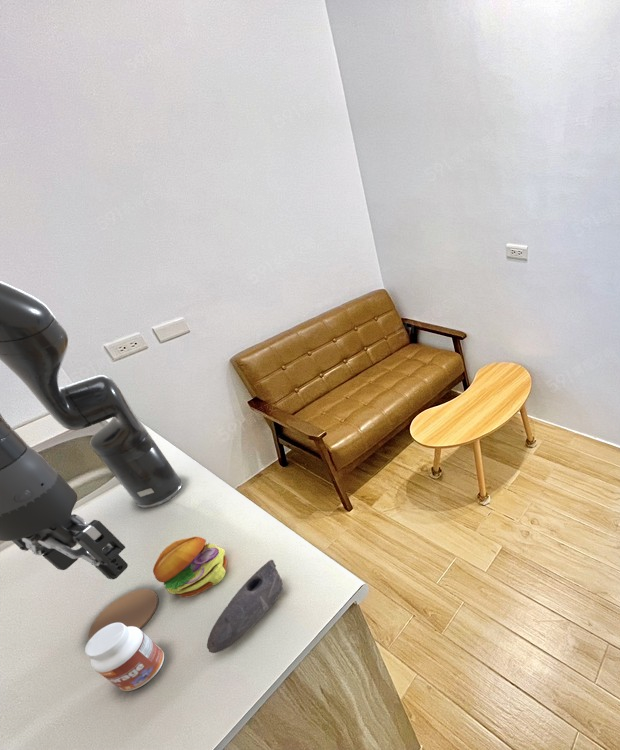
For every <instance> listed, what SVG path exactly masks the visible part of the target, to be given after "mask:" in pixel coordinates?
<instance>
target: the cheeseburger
mask: <svg viewBox="0 0 620 750" xmlns="http://www.w3.org/2000/svg"><path fill="white" fill-rule="evenodd" d="M227 563H228V560H227V558H226V550H225V549H224V548H222V547H219V546H218V545H216V544H214V543H210V542H208V543H207V539H205V538H203V537H200V536H191V537H186V538H181V539H177V540H175V541H173V542H172V543H170V544H169V545H167V546H166V547H165V548H164V549H163V550H162V551H161V552H160V554H159V555H158V558H157V559H156V561H155V563H154V565H153V569H152V574H153V576H154V578H155V579H156V581H157V582H159V583H163V585H164V586H165V587H164V588H165V589H166V590H167V592H168V593H169V594H172V595H176V596H178V597H182V598H187V597H188V598H189V597H193V596H195V595H198V594H200V593H203V592H204V591H206V590H208V589H209V588H211V587H213V586H216V585H217V584H219V583H220V582H221V581H222V580H223V579H224V577H225V576H226V570H227Z"/></svg>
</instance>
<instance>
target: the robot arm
mask: <svg viewBox="0 0 620 750" xmlns="http://www.w3.org/2000/svg"><path fill="white" fill-rule="evenodd" d="M68 347H69V337H68V334H67V331H66V330H65V328H64V327H63V325H62V324H61V322H60V321H59V320H58V319H57V317H56V316H55V315H54V314H53V312H52V311H51V309H50V308H49V307H48V306H47V305H46V304H45V303H44V302H42V301H41V300H40V299H38V298H36V297H35V296H33V295H31V294H29V293H27V292H25V291H24V290H22V289H19V288H16V287H14V286H12V285H10V284H8V283H6V282H3V281H1V280H0V361H1V362H2V363H3V364H4V365H5V366H7V368H8V369H9V370H10V371H12V372H13V373H14V374H15V375H16V376H17V377H18V378H19V379H20V381H22V382H23V384H24V385H26V388H28V389H29V391H30V392H31V393H32V394H33V395H34V396H35V398H36V399H37V400H38V402H40V404H41V405H42V406H43V407H44V409H45V410H46V411H47V412H48V413H49V415H50V416H51V417H52V418H53V419H54V421H56V423H58V424H59V426H62V427H63V428H65V429H66V430H69V431H79V430H83V429H87V428H89V427H92V426H95V425H97V424H100V423H102V422H104V421H105V422H106V421H108V420H109V419H110V421H108V422H107V424H106V425H104V426H103V427H102V428H100V429H99V430H98V431H97V432H95V433H94V434H93V435H92V437H91V438H90V440H89V447H90V448H91V450H92V451H93V452H94V453H95V455H97V457H98V458H99V459H100V460H101V462H102V463H103V464H104V465H105V466H106V468H107V469H108V470H109V471H110V472H111V474H112V475H113V476H114V477H115V479H116V480H117V481H118V483H120V485H121V486H122V487H123V489H125V491H126V492H127V493H128V494H129V496H130V497H131V498H132V500H134V502H135V504H136V505H137V506H138V507H139V508H143V509H148V508H153V507H158V506H160V505H162V504H165V503H166V502H168V501H169V500H171V499H173V498H174V497H175V496H176V495H178V493H179V492H180V491H181V490H182V488H183V485H184V481H183V480H182V478H181V477H179V475H178V473H177V472H176V471H175V469H174V468H173V466H172V465H171V463H170V462H169V460H168V459H167V458H166V456H165V454H163V453H164V452H162V451H161V449H160V448H159V446H158V444H157V443H156V442H155V440H154V438H152V436H151V434H150V433H149V432H148V430H147V429H146V428H145V426H144V425H143V423H142V422H141V421H140V419H139V418H138V417H137V415H136V413H135V412H134V410H133V408H132V407H131V405H130V404H129V402H128V400H127V398H126V397H125V395H124V393H123V392H122V390H121V388H120V387H119V386H118V385H117V383H116V382H115V381H114V379H112V378H111V377H109V376H108V375H106V374H98V375H94V376H91V377H89V378H85V379H82V380H79V381H76V382H73V383H69V384H67V385H64V386H60V387H59V374H60V372H61V368H62V365H63V362H64V360H65V357H66V354H67V350H68ZM77 501H78V494H77V492H76V490H74V489H73V487H72V486H71V485H70V484H69V483H68V482H67V481H66V480H65V479H64V478H63V477H62V476H61V474H59V472H57V470H56V469H55V468H54V467H53V466H52V465H51V464H50V462H49V461H48V460H46V459H45V457H43V456H42V455H41V454H40V453H39V452H38V451H37V450H35V449H33V448H32V447H31V446H30V445H29V444H28V443H27V442H26V441H25V440H24V439H23V438H22V437H21V436H20V435H19V433H17V432H16V430H14V429H13V427H12V426H11V425H10V424H9V423H8V422H7V421H6V420H5V418H4V417H3V415H2V414H1V413H0V542H13V544H15V545H16V546H17V547H18V548H19V549H20V550H21V551H25V552H28V551H29V550H30V551H32V553H33V555H36V556H42V557H43V558H44V559H45V560H47V561H48V562H49V563H50V564H51V565H52V566H53V567H54V568H56V569H57V570H59V571H66V570H68V569H69V568H70V567H72V565H73V564H74V563H75V562H76V561H78V560H79V559H82V560H84V561H86V562H88V563H90V564H91V565H92V566H94V567H95V568H96V569H97V570H98V571H99V572H101V574H102V575H103V576H104V577H105V578H107V579H108V580H116V579H118V578H119V577H120V576H121V575H122V574H123V573H124V572H125V571H126V570H127V569H128V567H129V564H128V563H127V561H125V560H124V559H123V558H122V556H121V555H120V554H121V553H122V552H123V551H124V550H125V549H126V546H125V544H124V543H122V542H121V541H120V539H119V538H117V537H116V536H115V534H114V533H112V531H110V530H109V529H108V528H107V527H106V526H105V524H103V523H102V522H101V521H100V520H97V519H93V520H92V521H90V522H89V523H86V519H84V518H83V517H81V516H80V515H78V514H75V513H72V512H73V509H74V508H75V505H76V504H77ZM77 545H78V546H80V547H79V548H77V549H73V548H75V546H77Z"/></svg>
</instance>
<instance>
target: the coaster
mask: <svg viewBox="0 0 620 750" xmlns="http://www.w3.org/2000/svg"><path fill="white" fill-rule="evenodd" d="M158 605H159V595H158V594H157V592H156V591H154V590H152V589H150V588H149V589H148V588H142V589H137V590H134V591H130V592H128V593H126V594H123V595H122V596H120V597H119V598H117V599H115V600H114V601H113V602H111V603H110V604H109V605H108V606H107V607H106V608H104V609H103V610H102V611H101V612H100V613H99V615H98V616H97V617H96V619H95V620H94V621H93V623H92V625H91V626H90V629H89V632H88V641H89V640H90V639H91V638H92V637H93V635H94V634H96V633H97V632H98V631H99V630H101V629H102V628H104V627H105V626H107V625H109V624H112V623H123V624H124V625H125V626H127V627H129V626H133V627H137V628H139V629H140V630H142V628H144V627H145V626H146V624H148V622H149V621H150V620H151V619H152V617H153V616H154V614H155V612H156V610H157V609H158Z"/></svg>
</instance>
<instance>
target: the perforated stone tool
mask: <svg viewBox="0 0 620 750" xmlns="http://www.w3.org/2000/svg"><path fill="white" fill-rule="evenodd" d="M283 584H284V583H283V579H282V577H281V576H280V574H279V572H278V569H277V565H276V563H275V561H274V559H270V560H268V561H267V562H265V563H264V564H263V565H262V566H261V567H260V568H259V569H258V570H257V571H256V572H255V573H253V575H251V576H250V578H248V580H247V581H246V582H245V583H244V584H243V585H242V586H241V588H240V589H238V591H237V592H236V593H235V595H234V596H233V597H232V598H231V600H230V601H229V603H227V606H226V607H224V609H223V611H222V612H221V613H220V615H219V617H218V618H217V620H216V621H215V623H214V625H213V626H212V628H211V630H210V632H209V635H208V638H207V643H206V649H207V650H208V652H209V653H211V654H217V653H221V652H223V651H224V650H227V649H228V648H230V647H231V646H233V645H234V644H235V643H237V642H238V641H239V640H240V639H241V638H243V637H244V636H245V635H246V634H247V633H248V632H249V631H250V630H251V629H252V628H253V627H254V625H256V624H257V622H258V621H260V619H261V618H262V617H263V616H264V615H265V614H266V613H267V611H268V610H269V609H271V607H272V606H273V605H274V604H275V602H276V601H277V599H278V598H279V597H280V595H281V594H282V593H283V591H284V587H283Z"/></svg>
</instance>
